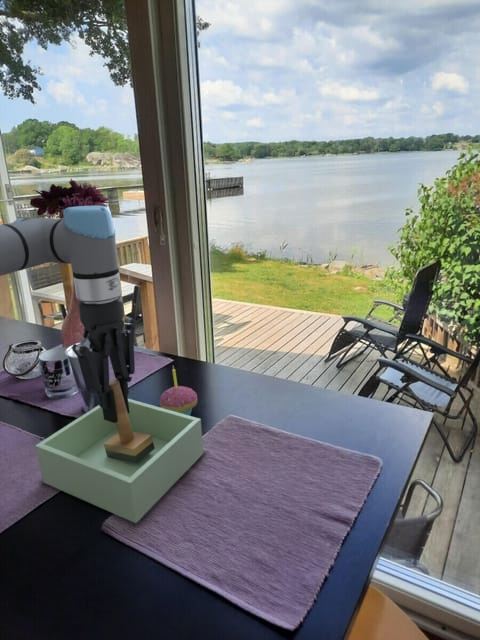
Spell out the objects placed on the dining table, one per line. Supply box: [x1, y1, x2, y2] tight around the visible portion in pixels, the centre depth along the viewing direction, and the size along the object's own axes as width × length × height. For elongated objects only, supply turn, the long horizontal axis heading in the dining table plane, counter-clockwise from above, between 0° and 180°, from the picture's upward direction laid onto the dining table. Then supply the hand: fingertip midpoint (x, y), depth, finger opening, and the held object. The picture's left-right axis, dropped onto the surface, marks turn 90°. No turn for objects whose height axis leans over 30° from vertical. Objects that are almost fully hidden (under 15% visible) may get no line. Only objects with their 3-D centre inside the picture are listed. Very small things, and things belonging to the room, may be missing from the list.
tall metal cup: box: [64, 341, 112, 414], centre depth 100 cm, size 11×11×30 cm
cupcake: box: [159, 365, 198, 416], centre depth 98 cm, size 9×8×12 cm
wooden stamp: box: [104, 378, 155, 463], centre depth 84 cm, size 8×5×15 cm, turn 61°
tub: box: [34, 398, 204, 524], centre depth 83 cm, size 22×20×8 cm
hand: (117, 416), depth 84 cm, fingers closed on wooden stamp, 3 cm apart
